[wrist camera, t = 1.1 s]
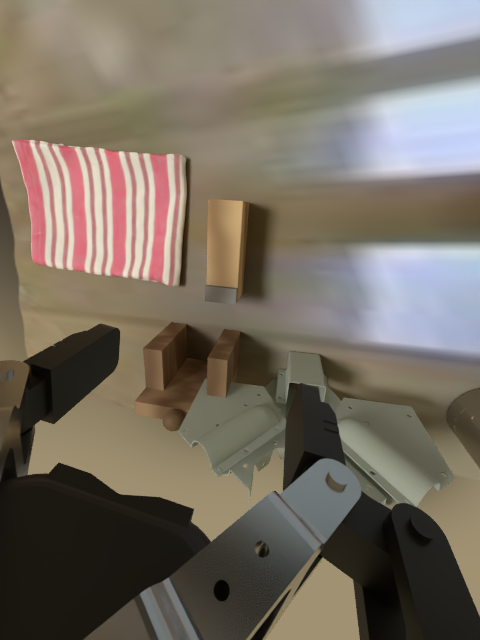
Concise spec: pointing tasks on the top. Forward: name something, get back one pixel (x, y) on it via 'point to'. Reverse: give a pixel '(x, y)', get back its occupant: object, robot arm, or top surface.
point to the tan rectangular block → (226, 250)
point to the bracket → (356, 436)
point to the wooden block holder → (184, 374)
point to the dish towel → (105, 210)
